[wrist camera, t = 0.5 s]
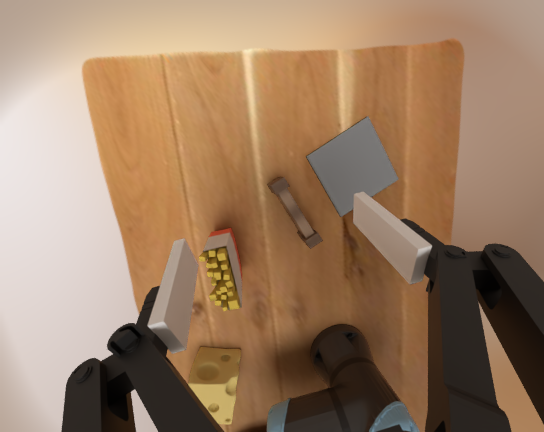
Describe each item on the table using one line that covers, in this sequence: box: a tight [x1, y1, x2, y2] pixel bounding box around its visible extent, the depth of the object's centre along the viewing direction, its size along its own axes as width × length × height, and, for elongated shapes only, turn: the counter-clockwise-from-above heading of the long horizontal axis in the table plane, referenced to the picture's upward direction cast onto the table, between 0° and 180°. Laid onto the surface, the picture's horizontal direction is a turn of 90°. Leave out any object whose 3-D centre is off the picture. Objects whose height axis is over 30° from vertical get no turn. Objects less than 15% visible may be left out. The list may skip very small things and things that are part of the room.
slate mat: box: [306, 117, 398, 217], centre depth 49 cm, size 16×16×1 cm
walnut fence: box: [267, 177, 323, 249], centre depth 46 cm, size 15×3×7 cm, turn 32°
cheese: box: [188, 347, 241, 424], centre depth 49 cm, size 10×11×10 cm
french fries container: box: [199, 228, 242, 311], centre depth 41 cm, size 5×11×18 cm, turn 11°
